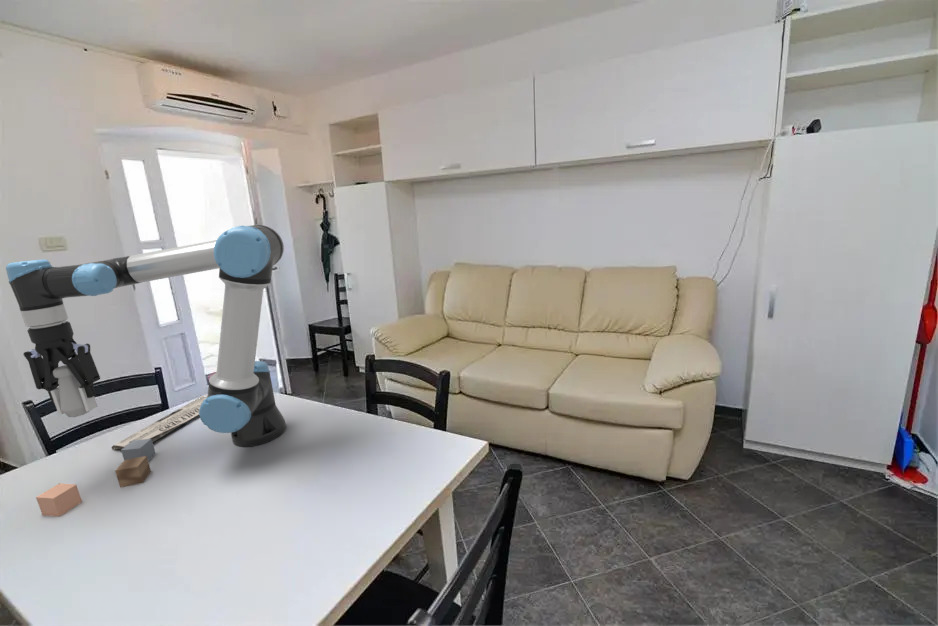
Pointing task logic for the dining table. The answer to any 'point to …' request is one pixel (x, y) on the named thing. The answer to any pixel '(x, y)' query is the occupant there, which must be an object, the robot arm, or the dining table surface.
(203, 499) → the dining table surface
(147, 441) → the slate cube
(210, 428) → the robot arm
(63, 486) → the terracotta cube
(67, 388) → the salt shaker
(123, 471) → the walnut cube
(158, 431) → the newspaper
